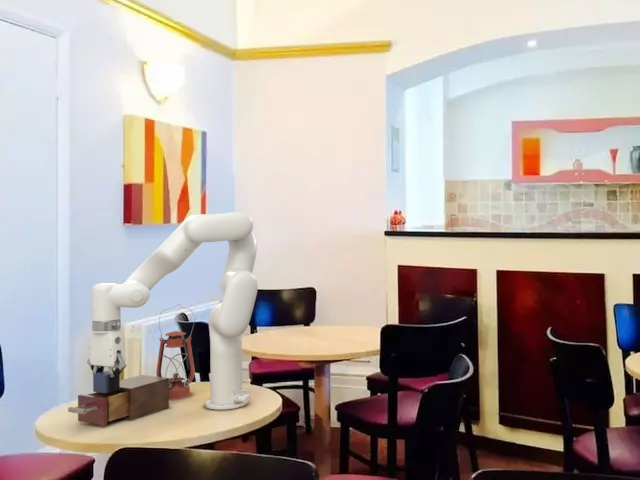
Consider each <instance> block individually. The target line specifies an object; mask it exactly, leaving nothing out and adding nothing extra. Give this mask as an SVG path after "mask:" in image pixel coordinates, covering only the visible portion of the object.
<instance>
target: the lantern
mask: <svg viewBox="0 0 640 480" xmlns="http://www.w3.org/2000/svg"><path fill="white" fill-rule="evenodd" d="M178 305H179V306H180V307H181V308H182V309H184V307H183V306H182V305H181V304H180V303H178V304H176V305H175V306H172V307H169V308H166V309H163V310H162V312H164V311H167V310H170V309H174V308H175V307H177V306H178ZM185 309H186V310H189V311H190V312H191V313H192V315H193V317H195V315H194V313H193V310H191V309H189V308H186V307H185ZM162 312H160V313H159V315H161V314H162ZM193 322H195V318H193ZM160 323H161V317H159V322H158V329H159V332H160V337H159V343H160V344H159V349H158V356H157V365H156V370H155V371H156V372H155V373H156V374H155V375H156V377H163V376H162V366H163V360H164V359H163V358H166V359H168V360H170V361H169V362H168V365H167V367H166V370H165V373H168V368H169V366H170V363H172V364H173V366H174V368H175V372H174V373H173V375H172V377H170V378H169V377H168V378H169V401H172V400H181V399H185V398H189V397H190V396H191V395H192V393H191V387H190V386H191V385H190V384H191V383H192V381H193V380H194V377H195V372H196V371H195V364H194V357H193V350H192V344H191V343H192V342H191V341H192V334H193V329H194V326H195V324H192V329H191V331H190V334H189V336H188V337H187V338H184V336H183V335H186V334H187V333H186V332H183V331H180V330H173V331H170V332H167V333H165V334H164V335H165V337H167V339H165V338H163V334H162V330H161V327H160V326H161V325H160ZM183 347H186V352H187V353H183V352H182V353H178V354H176V355H174V356H173V357H168V356H167V355H165V354H164V352H165V348H168V349H175V348H176V349H177V348H183ZM180 355H185V357H184V358H183V359H182V361H181V362H180V361H179V360H178V359H177V358H175V357H177V356H180ZM186 358H188V365H189V375H188V378H187V374H186V371H185V368H184V366H183V365H182V364H183V362H184V361H185V360H186ZM173 360H174V361H176V362H178V363H179V365H178V366H176V364H175V363H174V361H173ZM180 366H181V368H182V371H183V373H184V377H181V376H180V374H179V372H178V369H179V367H180ZM164 378H167V374H165V377H164Z"/></svg>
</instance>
